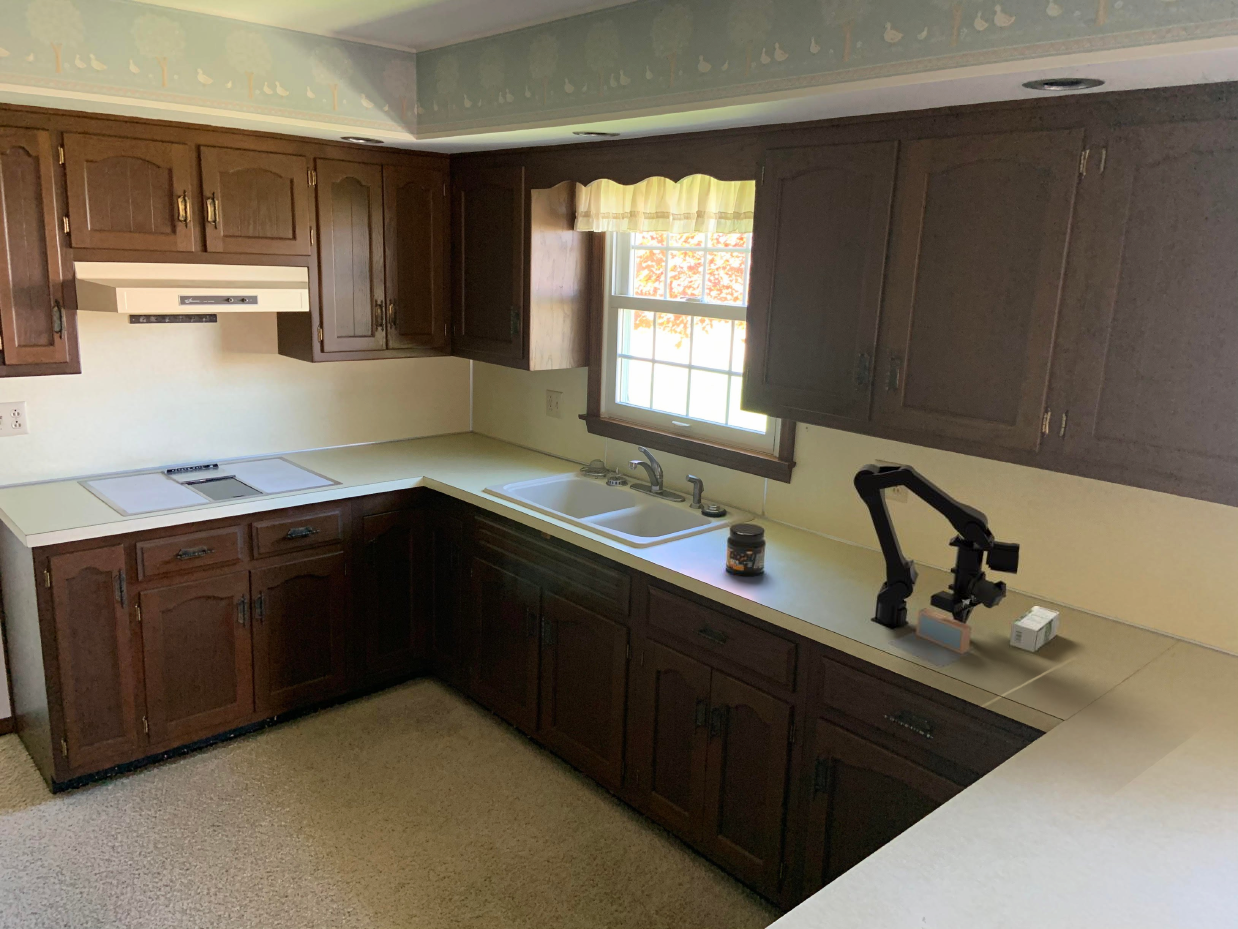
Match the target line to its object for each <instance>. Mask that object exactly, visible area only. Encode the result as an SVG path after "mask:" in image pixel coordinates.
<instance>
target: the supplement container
mask: <svg viewBox="0 0 1238 929" xmlns="http://www.w3.org/2000/svg"><path fill="white" fill-rule="evenodd" d="M728 534H729V536H728V537H727V538H726V543H727V545H726V557H725V558H726V560H725V567H726V569H727V571H729V572H730V573H732V574H733V575H737V576H743V577H753V576H757V575H760V574H762V572H764V569H765V559H766V558H765V555H766V546H767V540H766V539H765V536H766V535H765V534H766V530H765V528H763V527H762V526H761V525H758V524H754V523H742V522H741V523H735V524H732V525H730V526H729V532H728Z"/></svg>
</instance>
